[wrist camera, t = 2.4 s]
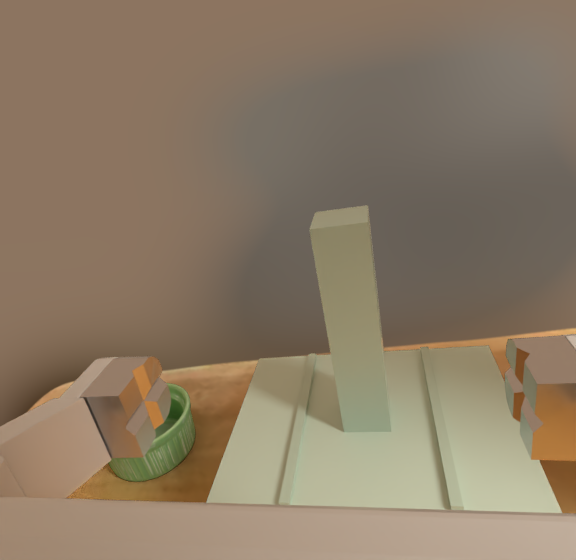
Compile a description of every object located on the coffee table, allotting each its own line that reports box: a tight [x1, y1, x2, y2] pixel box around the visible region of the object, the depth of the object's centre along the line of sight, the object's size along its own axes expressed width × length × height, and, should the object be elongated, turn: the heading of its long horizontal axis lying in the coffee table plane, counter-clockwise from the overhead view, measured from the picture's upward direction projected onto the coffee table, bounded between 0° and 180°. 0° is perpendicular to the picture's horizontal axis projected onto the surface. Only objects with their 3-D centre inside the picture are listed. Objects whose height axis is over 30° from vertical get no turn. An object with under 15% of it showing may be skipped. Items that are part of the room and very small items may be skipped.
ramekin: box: [108, 383, 195, 482], centre depth 41 cm, size 9×9×4 cm
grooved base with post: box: [206, 206, 562, 513], centre depth 26 cm, size 19×15×15 cm
